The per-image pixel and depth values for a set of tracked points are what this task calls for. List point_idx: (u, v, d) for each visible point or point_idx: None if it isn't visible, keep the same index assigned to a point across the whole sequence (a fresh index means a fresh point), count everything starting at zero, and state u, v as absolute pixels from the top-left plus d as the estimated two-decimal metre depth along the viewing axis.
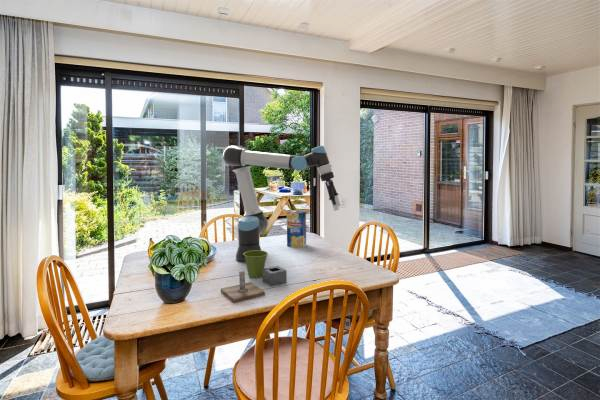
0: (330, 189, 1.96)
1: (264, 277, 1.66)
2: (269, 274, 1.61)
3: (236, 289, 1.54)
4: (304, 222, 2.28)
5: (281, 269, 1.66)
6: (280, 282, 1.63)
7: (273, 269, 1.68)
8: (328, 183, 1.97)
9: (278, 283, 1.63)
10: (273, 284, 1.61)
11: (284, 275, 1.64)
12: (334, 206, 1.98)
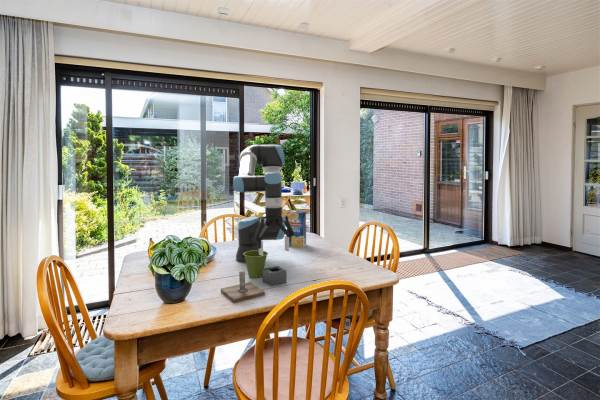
0: (258, 229, 1.58)
1: (264, 277, 1.66)
2: (269, 274, 1.61)
3: (236, 289, 1.54)
4: (304, 222, 2.28)
5: (281, 269, 1.66)
6: (280, 282, 1.63)
7: (273, 269, 1.68)
8: (260, 221, 1.58)
9: (278, 283, 1.63)
10: (273, 284, 1.61)
11: (284, 275, 1.64)
12: (259, 249, 1.61)
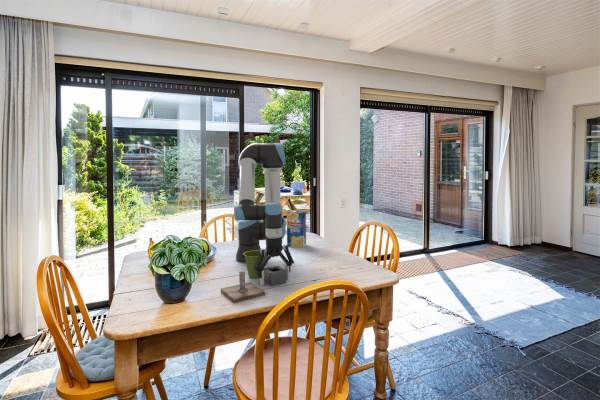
0: (259, 259, 1.60)
1: (264, 277, 1.66)
2: (269, 274, 1.61)
3: (236, 289, 1.54)
4: (304, 222, 2.28)
5: (281, 269, 1.66)
6: (280, 282, 1.63)
7: (273, 269, 1.68)
8: (261, 251, 1.60)
9: (278, 283, 1.63)
10: (273, 284, 1.61)
11: (284, 275, 1.64)
12: (260, 279, 1.62)
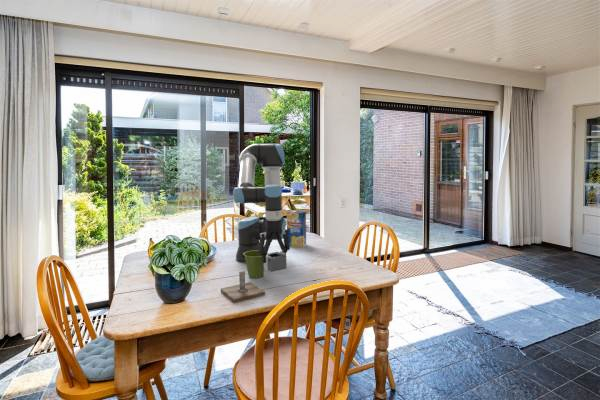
0: (261, 244, 1.60)
1: None
2: (269, 260, 1.61)
3: (236, 289, 1.54)
4: (304, 222, 2.28)
5: (281, 255, 1.65)
6: (280, 268, 1.63)
7: (273, 255, 1.67)
8: (261, 236, 1.60)
9: (278, 269, 1.63)
10: (273, 270, 1.61)
11: (284, 261, 1.64)
12: (264, 263, 1.64)
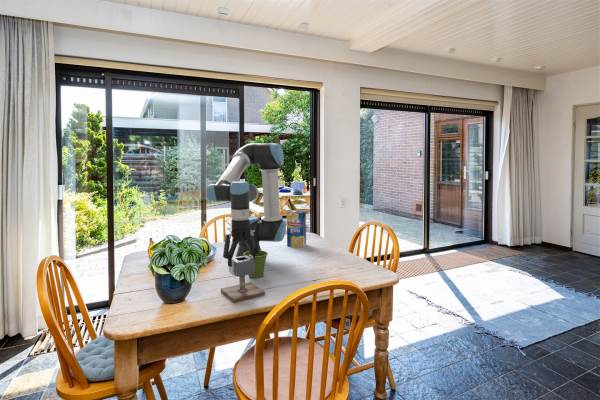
0: (226, 246, 1.46)
1: None
2: (235, 263, 1.46)
3: (236, 289, 1.54)
4: (304, 222, 2.28)
5: (249, 258, 1.51)
6: (247, 272, 1.49)
7: (240, 258, 1.53)
8: (226, 237, 1.46)
9: (245, 273, 1.48)
10: (239, 274, 1.47)
11: (252, 265, 1.49)
12: (230, 268, 1.49)
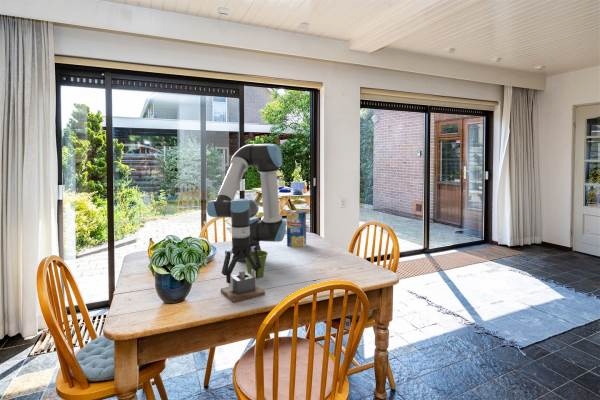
0: (225, 262, 1.47)
1: None
2: (236, 282, 1.48)
3: None
4: (304, 222, 2.28)
5: (249, 276, 1.52)
6: (248, 290, 1.50)
7: None
8: (226, 254, 1.47)
9: (246, 291, 1.49)
10: (240, 292, 1.48)
11: (252, 282, 1.51)
12: (229, 284, 1.50)
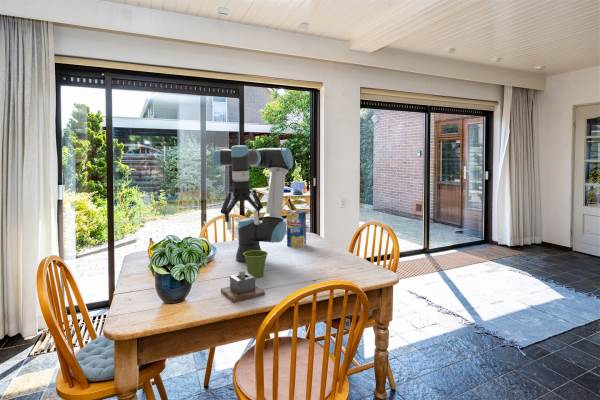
0: (225, 202, 1.58)
1: (231, 285, 1.52)
2: (236, 282, 1.48)
3: None
4: (304, 222, 2.28)
5: (249, 276, 1.52)
6: (248, 290, 1.50)
7: None
8: (227, 194, 1.58)
9: (246, 291, 1.49)
10: (240, 292, 1.48)
11: (252, 282, 1.51)
12: (227, 223, 1.61)
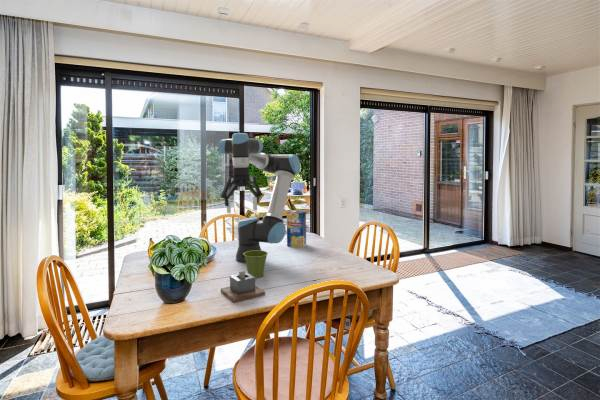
0: (225, 187, 1.65)
1: (231, 285, 1.52)
2: (236, 282, 1.48)
3: None
4: (304, 222, 2.28)
5: (249, 276, 1.52)
6: (248, 290, 1.50)
7: None
8: (228, 179, 1.65)
9: (246, 291, 1.49)
10: (240, 292, 1.48)
11: (252, 282, 1.51)
12: (227, 207, 1.67)
